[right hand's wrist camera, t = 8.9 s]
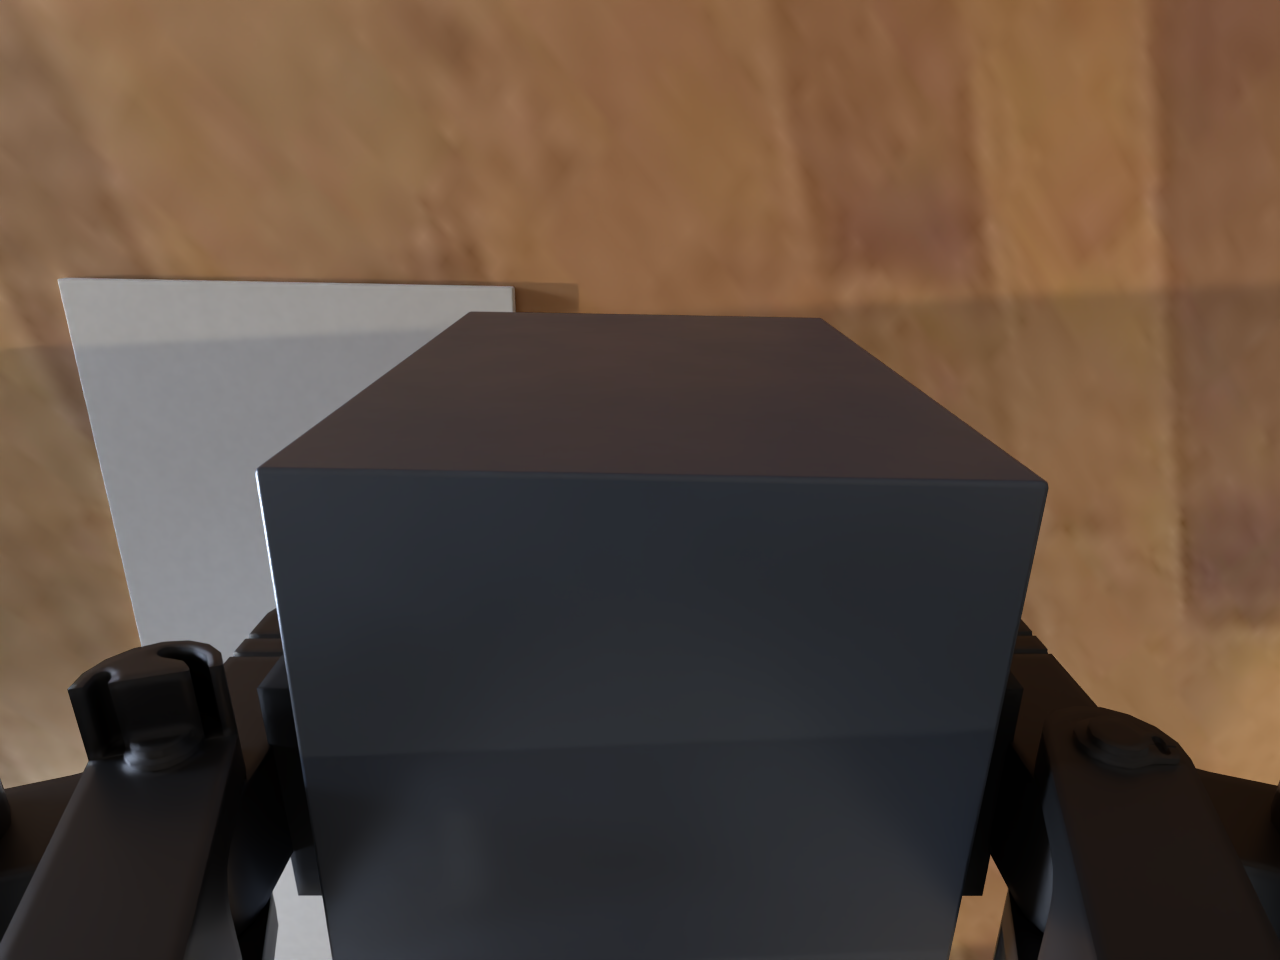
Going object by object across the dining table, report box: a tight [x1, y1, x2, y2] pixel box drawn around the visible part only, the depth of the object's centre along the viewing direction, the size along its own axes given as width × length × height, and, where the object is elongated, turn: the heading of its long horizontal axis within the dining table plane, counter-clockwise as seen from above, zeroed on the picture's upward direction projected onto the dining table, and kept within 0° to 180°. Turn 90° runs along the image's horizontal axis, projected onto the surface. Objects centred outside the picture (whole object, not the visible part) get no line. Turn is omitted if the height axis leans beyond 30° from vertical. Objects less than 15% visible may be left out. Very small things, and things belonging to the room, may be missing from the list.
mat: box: [58, 278, 516, 960], centre depth 31 cm, size 14×36×1 cm, turn 179°
